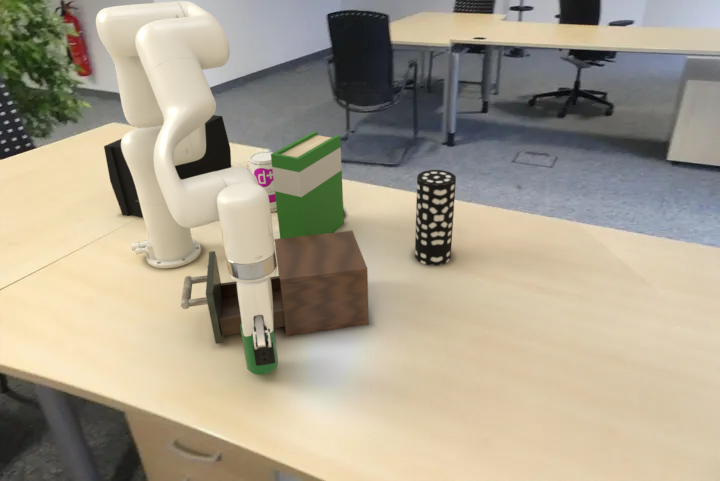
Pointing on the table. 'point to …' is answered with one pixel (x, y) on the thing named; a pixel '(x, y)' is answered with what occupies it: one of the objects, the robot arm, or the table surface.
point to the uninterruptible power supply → (212, 161)
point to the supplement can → (264, 175)
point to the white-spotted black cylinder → (434, 216)
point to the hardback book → (308, 186)
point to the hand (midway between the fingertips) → (264, 350)
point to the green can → (250, 357)
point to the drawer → (226, 300)
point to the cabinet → (322, 282)
